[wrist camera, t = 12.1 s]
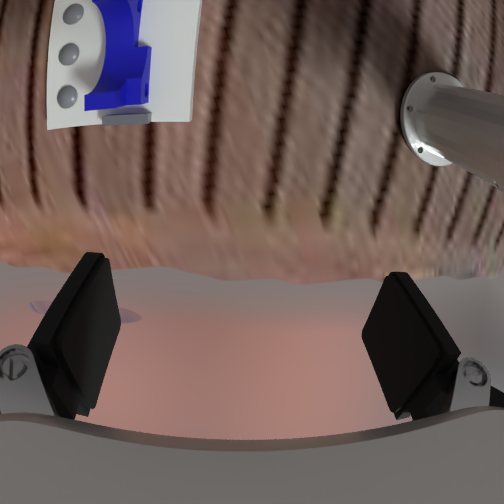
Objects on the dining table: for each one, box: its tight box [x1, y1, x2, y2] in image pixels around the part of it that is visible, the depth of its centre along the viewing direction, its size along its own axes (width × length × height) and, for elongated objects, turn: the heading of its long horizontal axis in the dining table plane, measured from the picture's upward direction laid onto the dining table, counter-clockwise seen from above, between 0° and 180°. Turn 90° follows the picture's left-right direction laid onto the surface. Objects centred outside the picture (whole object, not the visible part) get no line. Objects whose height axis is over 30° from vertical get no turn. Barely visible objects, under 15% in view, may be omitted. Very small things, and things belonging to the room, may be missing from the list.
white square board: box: [47, 0, 202, 130], centre depth 23 cm, size 17×17×4 cm
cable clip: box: [84, 0, 152, 111], centre depth 21 cm, size 12×4×6 cm, turn 175°
